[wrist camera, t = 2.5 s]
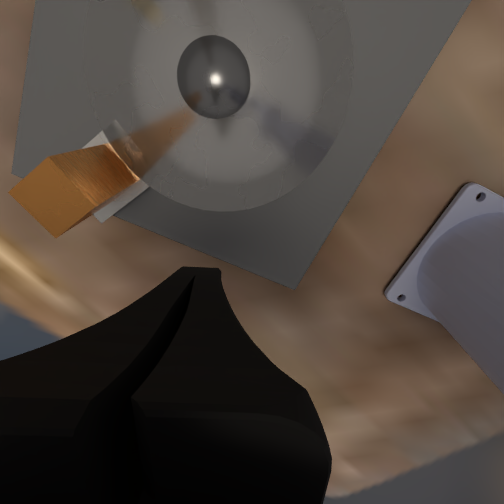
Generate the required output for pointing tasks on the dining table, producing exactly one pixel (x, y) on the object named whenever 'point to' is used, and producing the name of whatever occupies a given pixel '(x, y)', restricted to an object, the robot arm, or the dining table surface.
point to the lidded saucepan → (199, 106)
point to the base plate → (287, 206)
